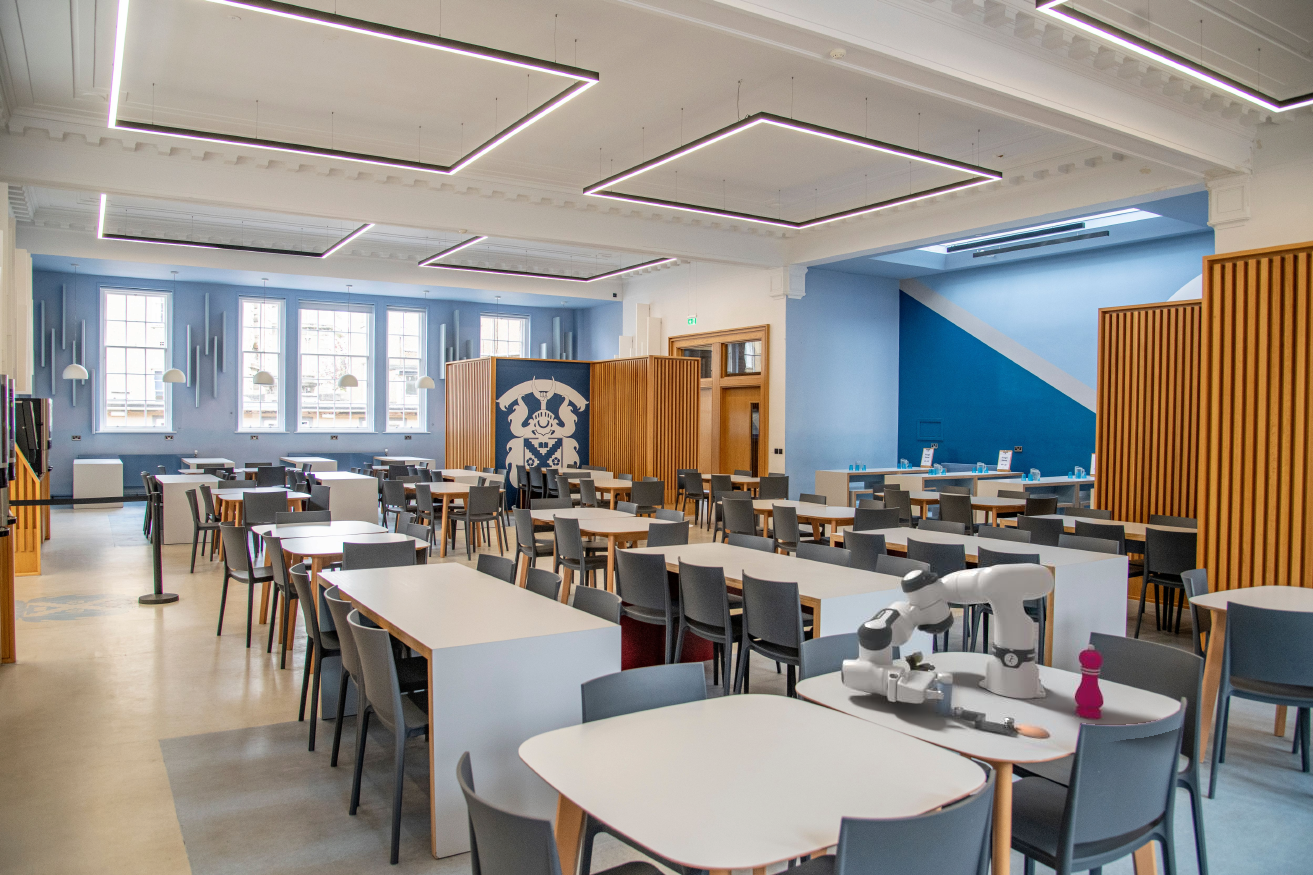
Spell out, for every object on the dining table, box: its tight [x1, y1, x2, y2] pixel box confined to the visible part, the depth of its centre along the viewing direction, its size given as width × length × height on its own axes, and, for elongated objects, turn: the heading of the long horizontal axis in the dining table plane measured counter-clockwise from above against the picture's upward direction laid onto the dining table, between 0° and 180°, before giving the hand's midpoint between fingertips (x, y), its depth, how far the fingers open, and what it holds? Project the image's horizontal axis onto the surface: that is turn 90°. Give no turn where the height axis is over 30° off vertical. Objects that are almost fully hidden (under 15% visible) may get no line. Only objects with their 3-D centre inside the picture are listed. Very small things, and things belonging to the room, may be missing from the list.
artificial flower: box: [904, 650, 936, 672], centre depth 263 cm, size 9×22×10 cm, turn 102°
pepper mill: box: [1074, 644, 1104, 720], centre depth 231 cm, size 7×7×20 cm
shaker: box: [936, 671, 954, 717], centre depth 228 cm, size 4×4×11 cm
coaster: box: [1014, 724, 1050, 739], centre depth 216 cm, size 8×8×1 cm
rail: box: [953, 706, 1015, 736], centre depth 220 cm, size 8×15×2 cm, turn 60°
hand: (946, 690), depth 228 cm, fingers open, 8 cm apart
